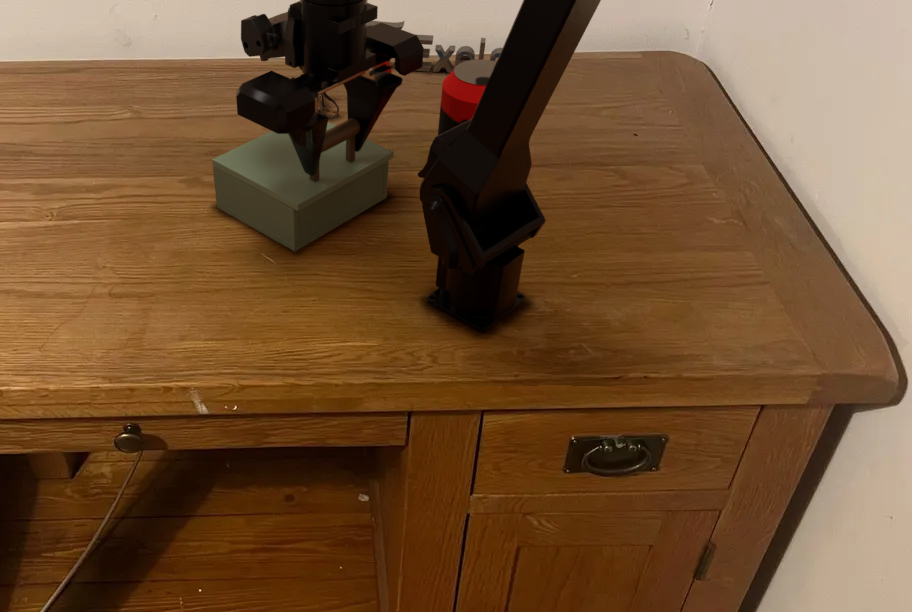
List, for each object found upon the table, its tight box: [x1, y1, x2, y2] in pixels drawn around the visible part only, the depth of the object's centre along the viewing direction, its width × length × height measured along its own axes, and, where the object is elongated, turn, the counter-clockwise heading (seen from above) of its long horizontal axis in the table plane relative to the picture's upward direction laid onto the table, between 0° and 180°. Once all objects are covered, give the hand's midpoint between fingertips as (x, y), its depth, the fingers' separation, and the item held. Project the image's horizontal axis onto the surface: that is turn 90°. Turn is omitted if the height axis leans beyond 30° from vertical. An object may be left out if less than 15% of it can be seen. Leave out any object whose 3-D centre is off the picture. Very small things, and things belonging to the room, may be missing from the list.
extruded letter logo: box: [367, 20, 503, 74], centre depth 114 cm, size 25×2×6 cm, turn 81°
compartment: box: [212, 160, 390, 252], centre depth 92 cm, size 11×13×5 cm
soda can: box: [437, 59, 497, 136], centre depth 92 cm, size 8×8×12 cm
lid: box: [211, 118, 395, 211], centre depth 89 cm, size 12×13×5 cm
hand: (333, 161), depth 87 cm, fingers closed on lid, 6 cm apart
